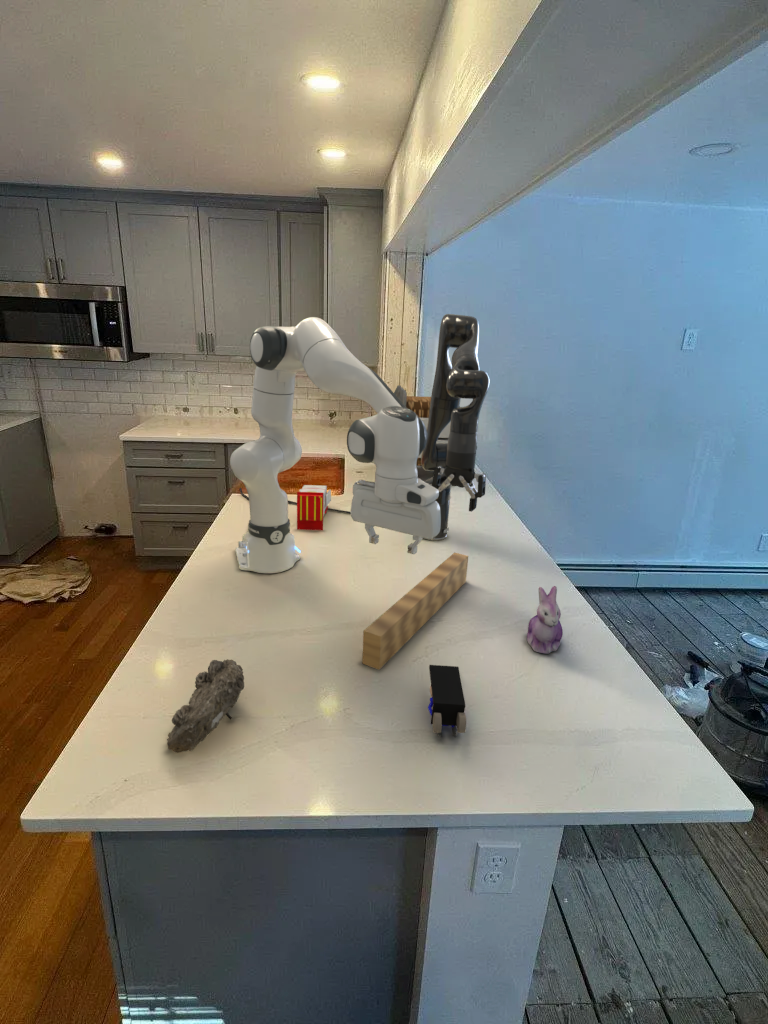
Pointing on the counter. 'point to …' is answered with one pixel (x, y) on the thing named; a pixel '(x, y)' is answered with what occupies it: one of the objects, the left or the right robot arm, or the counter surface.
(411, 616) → the post
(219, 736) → the counter surface
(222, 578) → the counter surface
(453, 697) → the black wheeled block
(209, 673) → the fossil
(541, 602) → the figurine
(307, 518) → the toy
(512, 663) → the counter surface
